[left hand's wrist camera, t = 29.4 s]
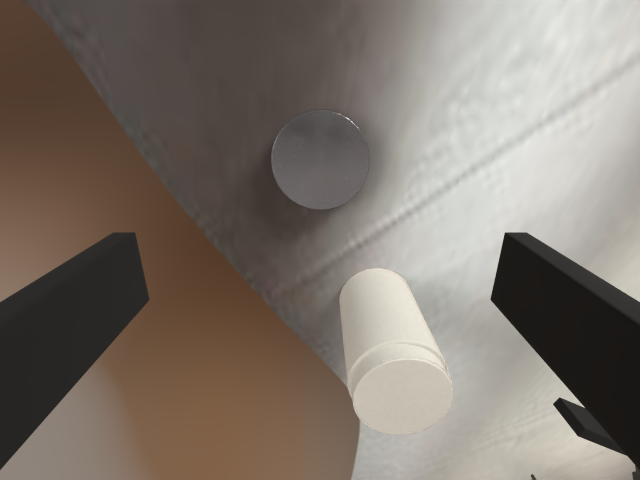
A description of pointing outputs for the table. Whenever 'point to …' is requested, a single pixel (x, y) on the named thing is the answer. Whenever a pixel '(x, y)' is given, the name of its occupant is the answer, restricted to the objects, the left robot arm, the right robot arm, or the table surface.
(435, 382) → the jar
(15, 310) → the left robot arm
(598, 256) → the table surface
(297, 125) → the lid
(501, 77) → the table surface
